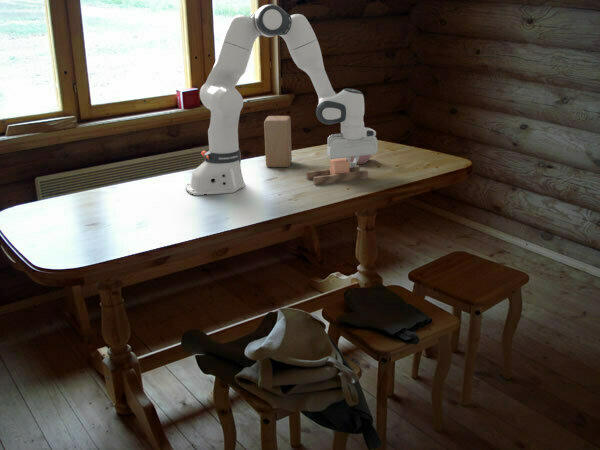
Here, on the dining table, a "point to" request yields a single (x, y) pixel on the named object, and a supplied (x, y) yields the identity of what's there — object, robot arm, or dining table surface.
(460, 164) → the dining table surface
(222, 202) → the dining table surface
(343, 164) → the block
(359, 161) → the mortar and pestle
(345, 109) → the robot arm
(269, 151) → the wooden block
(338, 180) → the chute
